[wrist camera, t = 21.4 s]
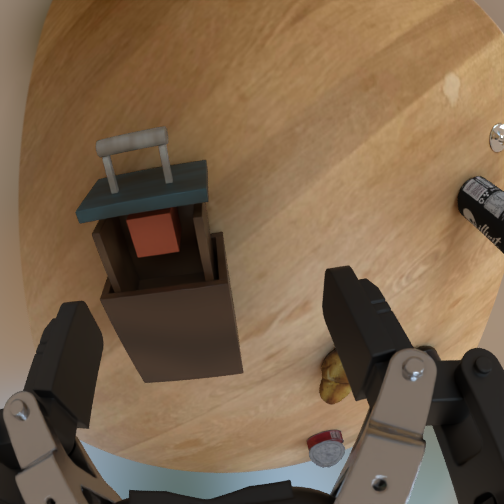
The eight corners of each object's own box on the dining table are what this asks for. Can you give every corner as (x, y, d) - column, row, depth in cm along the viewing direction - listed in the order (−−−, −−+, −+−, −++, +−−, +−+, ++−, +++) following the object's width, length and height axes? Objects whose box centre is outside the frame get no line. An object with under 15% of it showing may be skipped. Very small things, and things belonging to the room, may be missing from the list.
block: (143, 235, 33) (137, 258, 30) (134, 200, 31) (125, 220, 27) (181, 229, 34) (179, 252, 30) (174, 193, 31) (170, 212, 28)
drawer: (87, 134, 27) (58, 157, 21) (199, 111, 28) (197, 127, 22) (131, 280, 38) (121, 324, 32) (222, 268, 39) (227, 312, 33)
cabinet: (117, 247, 36) (99, 299, 29) (222, 231, 37) (228, 283, 29) (149, 330, 44) (144, 383, 37) (236, 320, 45) (243, 373, 38)
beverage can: (473, 218, 41) (522, 264, 31) (448, 209, 39) (501, 258, 29) (490, 181, 37) (545, 222, 27) (466, 168, 36) (526, 210, 26)
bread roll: (338, 325, 49) (354, 365, 42) (385, 327, 51) (403, 362, 45) (308, 373, 56) (319, 410, 49) (352, 372, 58) (365, 405, 52)
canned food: (305, 431, 83) (295, 459, 75) (320, 418, 77) (311, 450, 69) (338, 443, 81) (330, 471, 73) (356, 432, 75) (348, 463, 67)
